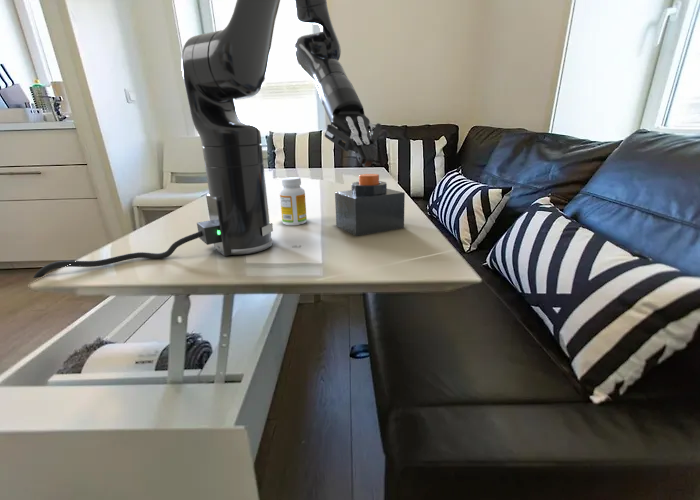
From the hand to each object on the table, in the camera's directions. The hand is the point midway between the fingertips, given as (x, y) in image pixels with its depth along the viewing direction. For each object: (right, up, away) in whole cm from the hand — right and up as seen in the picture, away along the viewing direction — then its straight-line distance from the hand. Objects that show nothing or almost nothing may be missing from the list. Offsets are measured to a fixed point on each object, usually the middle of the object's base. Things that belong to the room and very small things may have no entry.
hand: (368, 163), depth 70 cm
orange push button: (0, -4, +1) cm, 4 cm away
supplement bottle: (-16, -11, +9) cm, 22 cm away
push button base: (0, -12, +4) cm, 13 cm away
